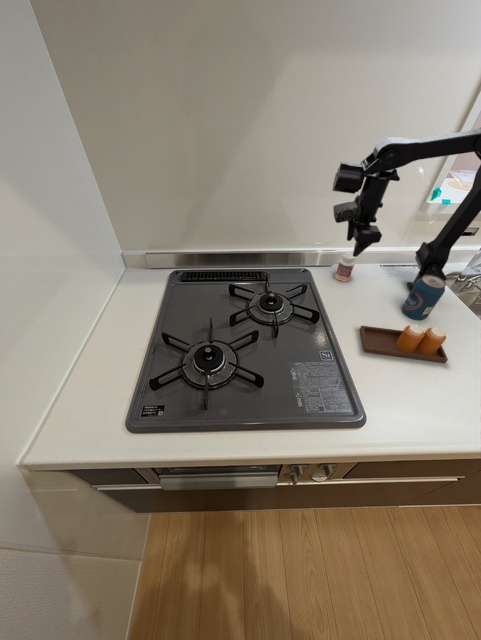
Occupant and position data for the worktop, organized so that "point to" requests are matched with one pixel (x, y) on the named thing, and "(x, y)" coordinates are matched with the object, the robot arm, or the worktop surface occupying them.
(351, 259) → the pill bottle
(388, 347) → the tray
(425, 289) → the soda can
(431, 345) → the amber bottle back
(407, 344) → the amber bottle middle
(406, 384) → the worktop surface
